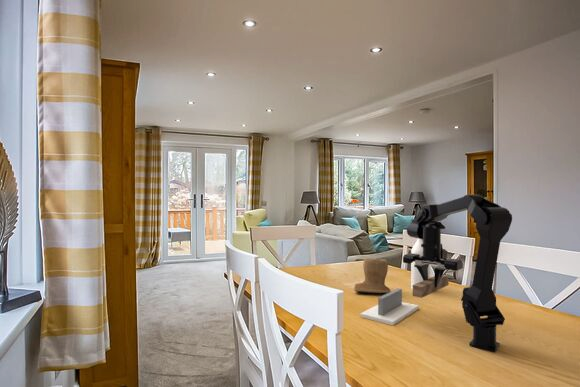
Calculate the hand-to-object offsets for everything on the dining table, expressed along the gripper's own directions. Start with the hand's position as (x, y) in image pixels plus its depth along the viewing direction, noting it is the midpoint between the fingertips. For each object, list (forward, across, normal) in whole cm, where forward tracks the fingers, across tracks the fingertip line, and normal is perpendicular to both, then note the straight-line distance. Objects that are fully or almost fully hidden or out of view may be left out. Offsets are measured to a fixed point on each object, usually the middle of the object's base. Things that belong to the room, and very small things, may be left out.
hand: (431, 286), depth 120 cm
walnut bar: (+1, 0, 0) cm, 1 cm away
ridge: (+11, +13, +5) cm, 18 cm away
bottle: (+11, +19, -32) cm, 39 cm away
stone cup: (+11, +32, -14) cm, 37 cm away
